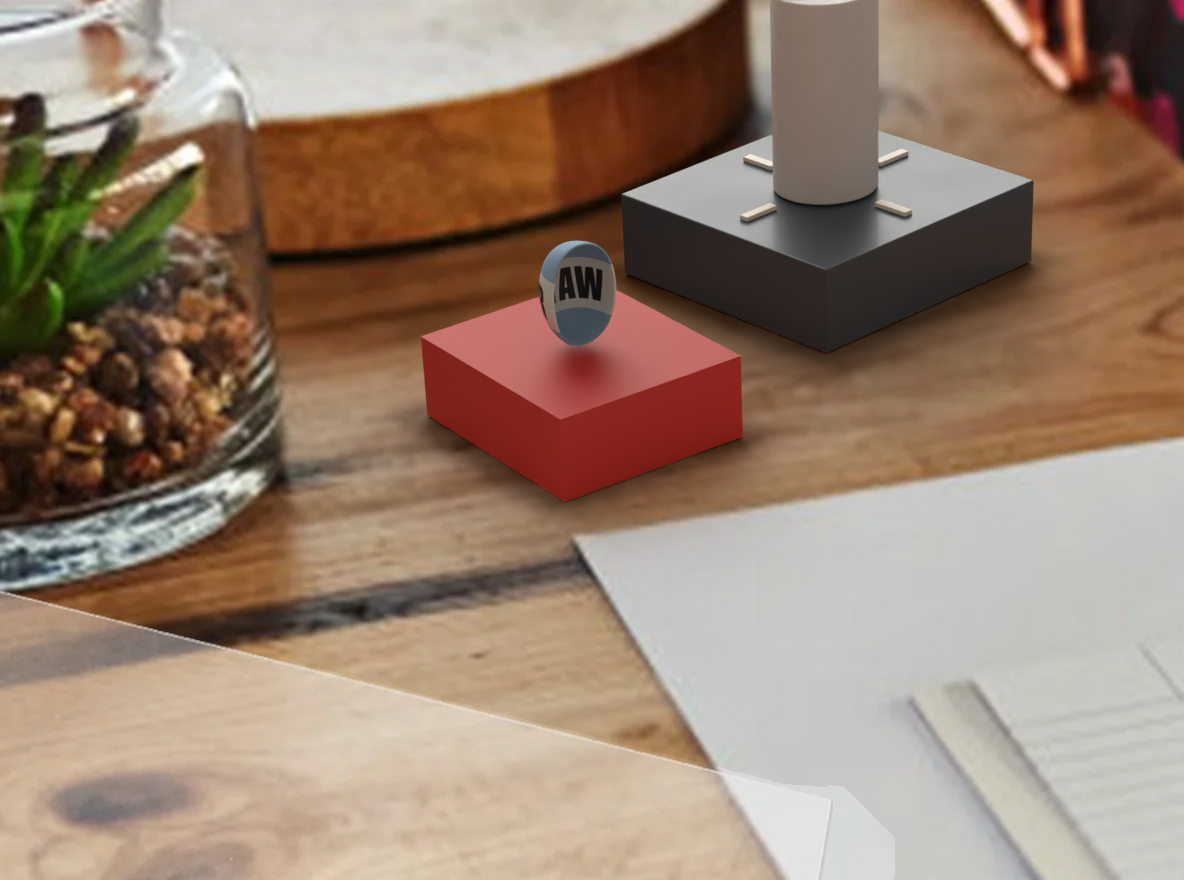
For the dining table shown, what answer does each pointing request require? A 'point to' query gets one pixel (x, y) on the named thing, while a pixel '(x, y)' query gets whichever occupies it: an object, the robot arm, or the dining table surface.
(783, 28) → the cylinder
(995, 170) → the base
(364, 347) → the dining table surface
